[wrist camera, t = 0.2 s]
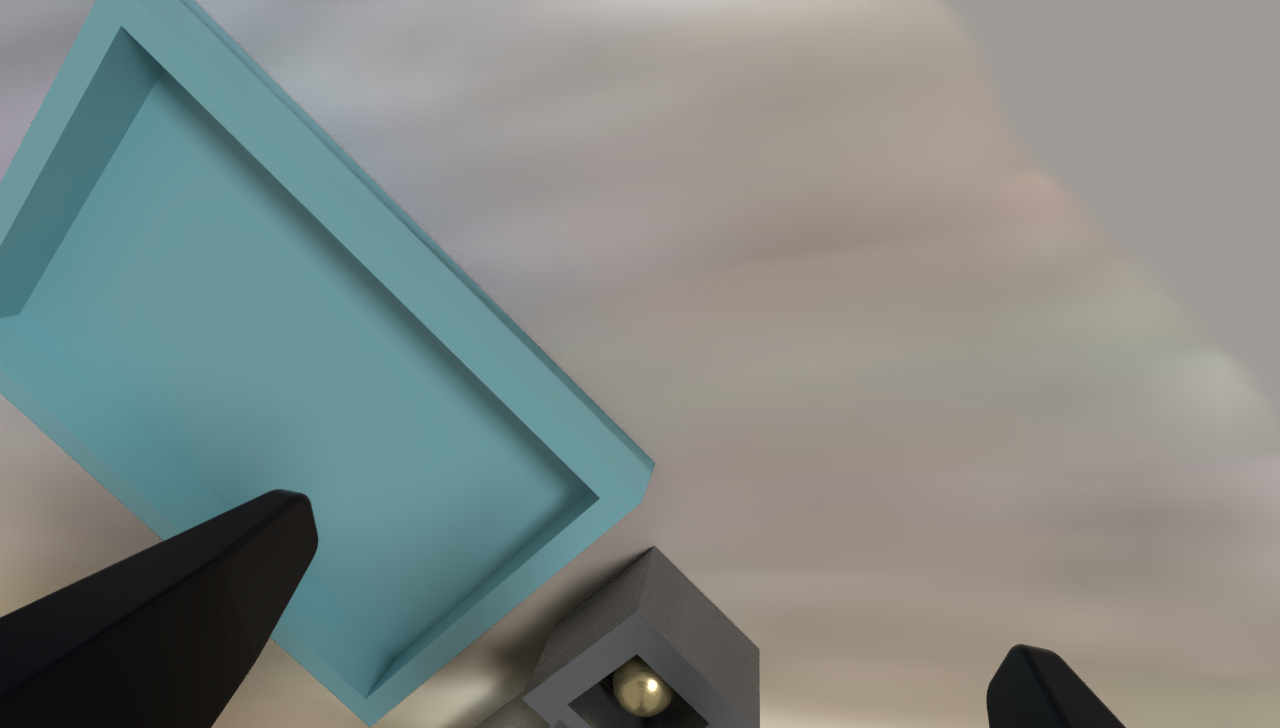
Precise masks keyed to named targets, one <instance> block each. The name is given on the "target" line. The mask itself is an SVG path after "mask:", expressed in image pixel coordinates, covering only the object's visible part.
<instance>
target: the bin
mask: <svg viewBox="0 0 1280 728" xmlns="http://www.w3.org/2000/svg"><path fill="white" fill-rule="evenodd" d="M0 393H1V394H2V395H3V396H4V397H5V398H7V399H8V400H9V401H10V402H11V403H12V404H13V405H14V406H15V407H16V408H18V409H19V410H20V411H21V412H22V413H23V414H24V415H25V416H26V417H28V418H29V419H30V420H31V421H32V422H33V423H34V424H35V425H36V426H37V427H39V428H40V429H41V430H42V431H43V432H44V433H45V434H46V435H47V436H49V437H50V438H51V439H52V440H53V441H54V442H55V443H56V444H57V445H58V446H60V447H61V448H62V449H63V450H64V451H65V452H66V453H67V454H68V455H70V456H71V457H72V458H73V459H74V460H75V461H76V462H77V463H78V464H79V465H81V466H82V467H83V468H84V469H85V470H86V471H87V472H88V473H89V474H91V475H92V476H93V477H94V478H95V479H96V480H97V481H98V482H99V483H100V484H102V485H103V486H104V487H105V488H106V489H107V490H108V491H109V492H110V493H111V494H113V495H114V496H115V497H116V498H117V499H118V500H119V501H120V502H121V503H123V504H124V505H125V506H126V507H127V508H128V509H129V510H130V511H131V512H132V513H134V514H135V515H136V516H137V517H138V518H139V519H140V520H141V521H142V522H144V523H145V524H146V525H147V526H148V527H149V528H150V529H151V530H152V531H153V532H155V533H156V534H157V535H158V536H159V537H160V538H161V539H162V540H163V541H164V540H166V539H169V538H171V537H173V536H175V535H177V534H179V533H181V532H183V531H186V530H188V529H190V528H192V527H194V526H196V525H198V524H201V523H203V522H205V521H207V520H209V519H211V518H213V517H215V516H218V515H220V514H222V513H224V512H226V511H228V510H230V509H232V508H235V507H237V506H239V505H241V504H243V503H245V502H247V501H250V500H252V499H254V498H256V497H258V496H260V495H262V494H264V493H267V492H269V491H271V490H275V489H285V490H290V491H294V492H299V493H303V494H305V495H307V497H308V498H309V499H310V501H311V505H312V509H313V514H314V519H315V523H316V528H317V532H318V538H319V539H318V547H317V551H316V554H315V556H314V558H313V560H312V562H311V563H310V565H309V567H308V569H307V571H306V572H305V574H304V576H303V578H302V580H301V581H300V583H299V585H298V587H297V589H296V591H295V592H294V594H293V596H292V598H291V600H290V601H289V603H288V605H287V607H286V609H285V610H284V612H283V614H282V616H281V618H280V619H279V621H278V623H277V625H276V627H275V629H274V630H273V632H272V634H271V636H270V637H271V638H272V639H273V640H274V641H275V642H276V643H277V644H278V645H279V646H281V647H282V648H283V649H284V650H285V651H286V652H287V653H288V654H289V655H290V656H292V657H293V658H294V659H295V660H296V661H297V662H298V663H299V664H300V665H302V666H303V667H304V668H305V669H306V670H307V671H308V672H309V673H310V674H311V675H313V676H314V677H315V678H316V679H317V680H318V681H319V682H320V683H321V684H323V685H324V686H325V687H326V688H327V689H328V690H329V691H330V692H331V693H332V694H334V695H335V696H336V697H337V698H338V699H339V700H340V701H341V702H342V703H344V704H345V705H346V706H347V707H348V708H349V709H350V710H351V711H352V712H353V713H355V714H356V715H357V716H358V717H359V718H360V719H361V720H362V721H363V722H365V723H366V724H367V725H368V726H369V727H371V726H372V725H373V724H374V723H376V722H377V721H378V720H379V719H380V718H382V717H383V716H384V715H385V714H386V713H388V712H389V711H390V710H391V709H393V708H394V707H395V706H396V705H397V704H399V703H400V702H401V701H402V700H403V699H405V698H406V697H407V696H408V695H409V694H411V693H412V692H413V691H414V690H415V689H417V688H418V687H419V686H420V685H421V684H423V683H424V682H425V681H426V680H427V679H429V678H430V677H431V676H432V675H433V674H435V673H436V672H437V671H438V670H440V669H441V668H442V667H443V666H444V665H446V664H447V663H448V662H449V661H450V660H452V659H453V658H454V657H455V656H456V655H458V654H459V653H460V652H461V651H462V650H464V649H465V648H466V647H467V646H468V645H470V644H471V643H472V642H473V641H474V640H476V639H477V638H478V637H479V636H481V635H482V634H483V633H484V632H485V631H487V630H488V629H489V628H490V627H491V626H493V625H494V624H495V623H496V622H497V621H499V620H500V619H501V618H502V617H503V616H505V615H506V614H507V613H508V612H509V611H511V610H512V609H513V608H514V607H515V606H517V605H518V604H519V603H520V602H522V601H523V600H524V599H525V598H526V597H528V596H529V595H530V594H531V593H532V592H534V591H535V590H536V589H537V588H538V587H540V586H541V585H542V584H543V583H544V582H546V581H547V580H548V579H549V578H550V577H552V576H553V575H554V574H555V573H556V572H558V571H559V570H560V569H561V568H562V567H564V566H565V565H566V564H567V563H569V562H570V561H571V560H572V559H573V558H575V557H576V556H577V555H578V554H579V553H581V552H582V551H583V550H584V549H585V548H587V547H588V546H589V545H590V544H591V543H593V542H594V541H595V540H596V539H597V538H599V537H600V536H601V535H602V534H603V533H605V532H606V531H607V530H608V529H610V528H611V527H612V526H613V525H614V524H616V523H617V522H618V521H619V520H620V519H622V518H623V517H624V516H625V515H626V514H628V513H629V512H630V511H631V510H632V509H634V508H635V507H636V506H637V505H638V504H640V503H641V502H642V500H643V497H644V494H645V491H646V488H647V485H648V482H649V480H650V477H651V474H652V471H653V468H654V465H655V463H654V462H653V461H652V460H651V459H650V458H649V457H648V456H647V455H646V454H645V453H644V452H643V451H642V450H641V449H640V448H639V447H638V446H637V445H636V444H635V443H634V442H633V441H632V440H631V439H630V438H629V437H628V436H627V435H626V434H625V433H624V432H623V431H622V430H621V429H620V428H619V427H618V426H617V425H616V424H615V423H614V422H613V421H612V420H611V419H610V418H609V417H608V416H607V415H606V414H605V413H604V412H603V411H602V410H601V409H600V408H599V407H598V406H597V405H596V404H595V403H594V402H593V401H592V400H591V399H590V398H589V397H588V396H587V395H586V394H585V393H584V392H583V390H582V389H581V388H580V387H579V386H578V385H577V384H576V383H575V382H574V381H573V380H572V379H571V378H570V377H569V376H568V375H567V374H566V373H565V372H564V371H563V370H562V369H561V368H560V367H559V366H558V365H557V364H556V363H555V362H554V361H553V360H552V359H551V358H550V357H549V356H548V355H547V354H546V353H545V352H544V351H543V350H542V349H541V348H540V347H539V346H538V345H537V344H536V343H535V342H534V341H533V340H532V339H531V338H530V337H529V336H528V335H527V334H526V333H525V332H524V331H523V330H522V329H521V328H520V327H519V326H518V325H517V324H516V323H515V322H514V321H513V320H512V319H511V318H510V317H509V316H508V315H507V314H506V313H505V312H504V311H503V310H502V309H501V308H500V307H499V306H498V305H497V304H496V303H495V302H494V301H493V300H492V299H491V298H490V297H489V296H488V295H487V294H486V293H485V292H484V291H483V290H482V289H481V288H480V287H479V286H478V285H477V284H476V283H475V282H474V281H473V280H472V279H471V278H470V277H469V276H468V275H467V274H466V273H465V272H464V271H463V270H462V269H461V268H460V267H459V266H458V265H457V264H456V263H455V262H454V261H453V260H452V259H451V258H450V257H449V256H448V255H447V254H446V253H445V252H444V251H443V250H442V249H441V248H440V247H439V246H438V245H437V244H436V243H435V242H434V241H433V240H432V239H431V238H430V237H429V236H428V235H427V234H426V233H425V232H424V231H423V230H422V229H421V228H420V227H419V226H418V225H417V224H416V223H415V222H414V221H413V220H412V219H411V218H410V217H409V216H408V215H407V214H406V213H405V212H404V211H403V210H402V209H401V208H400V207H399V206H398V205H397V204H396V203H395V202H394V201H393V200H392V199H391V198H390V197H389V196H388V195H387V194H386V193H385V192H384V191H383V190H382V189H381V188H380V187H379V186H378V185H377V184H376V183H375V182H374V181H373V180H372V179H371V178H370V177H369V176H368V175H367V174H366V173H365V172H364V171H363V170H362V169H361V168H360V167H359V166H358V165H357V164H356V163H355V162H354V161H353V160H352V159H351V158H350V157H349V156H348V155H347V154H346V153H345V152H344V151H343V150H342V149H341V148H340V147H339V146H338V145H337V144H336V143H335V142H334V141H333V140H332V139H331V138H330V137H329V136H328V135H327V134H326V133H325V132H324V131H323V130H322V129H321V128H320V127H319V126H318V125H317V124H316V123H315V122H314V120H313V119H312V118H311V117H310V116H309V115H308V114H307V113H306V112H305V111H304V110H303V109H302V108H301V107H300V106H299V105H298V104H297V103H296V102H295V101H294V100H293V99H292V98H291V97H290V96H289V95H288V94H287V93H286V92H285V91H284V90H283V89H282V88H281V87H280V86H279V85H278V84H277V83H276V82H275V81H274V80H273V79H272V78H271V77H270V76H269V75H268V74H267V73H266V72H265V71H264V70H263V69H262V68H261V67H260V66H259V65H258V64H257V63H256V62H255V61H254V60H253V59H252V58H251V57H250V56H249V55H248V54H247V53H246V52H245V51H244V50H243V49H242V48H241V47H240V46H239V45H238V44H237V43H236V42H235V41H234V40H233V39H232V38H231V37H230V36H229V35H228V34H227V33H226V32H225V31H224V30H223V29H222V28H221V27H220V26H219V25H218V24H217V23H216V22H215V21H214V20H213V19H212V18H211V17H210V16H209V15H208V14H207V13H206V12H205V11H204V10H203V9H202V8H201V7H200V6H199V5H198V4H197V3H196V2H195V1H194V0H96V2H95V4H94V6H93V8H92V10H91V12H90V13H89V15H88V17H87V19H86V21H85V23H84V25H83V27H82V29H81V31H80V33H79V34H78V36H77V38H76V40H75V42H74V44H73V46H72V48H71V50H70V52H69V53H68V55H67V57H66V59H65V61H64V63H63V65H62V67H61V69H60V71H59V73H58V74H57V76H56V78H55V80H54V82H53V84H52V86H51V88H50V90H49V92H48V94H47V95H46V97H45V99H44V101H43V103H42V105H41V107H40V109H39V111H38V113H37V114H36V116H35V118H34V120H33V122H32V124H31V126H30V128H29V130H28V132H27V134H26V135H25V137H24V139H23V141H22V143H21V145H20V147H19V149H18V151H17V153H16V154H15V156H14V158H13V160H12V162H11V164H10V166H9V168H8V170H7V172H6V174H5V175H4V177H3V179H2V181H1V183H0Z"/></svg>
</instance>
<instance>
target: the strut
mask: <svg viewBox="0 0 1280 728" xmlns="http://www.w3.org/2000/svg"><path fill="white" fill-rule="evenodd" d="M636 654H638V655H639V656H640V657H641V658H642V659H643V660H644V661H645V662H646V663H647V664H648V665H649V666H650V667H651V668H652V669H653V670H654V671H655V672H656V673H657V674H658V675H659V676H660V677H661V678H662V679H664V680H665V681H666V682H667V683H668V684H669V685H670V686H671V687H672V688H673V689H674V690H675V694H674V696H673V699H672V701H671V702H670V704H669V705H668V706H667V707H666V708H665V709H664V710H663V711H662V712H660V713H658V714H656V715H654V716H650V717H640V716H636V715H633V714H631V713H629V712H628V711H626V710H625V709H624V708H623V707H622V706H621V705H620V703H619V702H618V700H617V698H616V696H615V693H614V690H613V673H614V670H616V669H617V668H618V667H620V666H621V665H622V664H624V663H625V662H627V661H628V660H629V659H631V658H632V657H633V656H635V655H636ZM477 728H760V695H759V649H758V648H757V647H756V646H755V645H754V644H753V643H752V642H751V641H750V640H749V639H748V638H747V637H746V636H745V635H744V634H743V633H742V632H741V631H740V630H739V629H738V628H737V627H736V626H735V625H734V624H733V623H732V622H731V621H730V620H729V619H728V618H727V617H726V616H725V615H724V614H723V613H722V612H721V611H720V610H719V609H718V608H717V607H716V606H715V605H714V604H713V603H712V602H711V601H710V600H709V599H708V598H707V597H706V596H705V595H704V594H703V593H702V592H701V591H700V590H699V589H698V588H697V587H696V586H695V585H694V584H693V583H692V582H691V581H689V580H688V579H687V578H686V577H685V576H684V575H683V574H682V573H681V572H680V571H679V570H678V569H677V568H676V567H675V566H674V565H673V564H672V563H671V562H670V561H669V560H668V559H667V558H666V557H665V556H664V555H663V554H662V553H661V552H660V551H659V550H658V549H657V548H656V547H655V546H654V547H653V548H652V549H650V550H649V551H648V552H646V553H645V554H644V555H643V556H641V557H640V558H639V559H638V560H636V561H635V562H634V563H633V564H631V565H630V566H629V567H628V568H626V569H625V570H624V571H622V572H621V573H620V574H619V575H617V576H616V577H615V578H614V579H612V580H611V581H610V582H609V583H607V584H606V585H605V586H604V587H602V588H601V589H600V590H598V591H597V592H596V593H595V594H593V595H592V596H591V597H590V598H588V599H587V600H586V601H585V602H583V603H582V604H581V605H580V606H578V607H577V608H576V609H574V610H573V611H572V612H571V613H569V614H568V615H567V616H566V617H564V618H563V619H562V620H561V621H559V622H558V623H557V624H556V625H554V627H553V630H552V632H551V634H550V636H549V639H548V641H547V643H546V645H545V647H544V650H543V652H542V654H541V656H540V659H539V661H538V663H537V665H536V668H535V670H534V672H533V674H532V677H531V679H530V681H529V683H528V686H527V688H526V690H525V691H524V692H523V693H521V694H520V695H519V696H518V697H516V698H515V699H514V700H512V701H511V702H510V703H508V704H507V705H506V706H504V707H503V708H502V709H500V710H499V711H498V712H496V713H495V714H494V715H493V716H491V717H490V718H489V719H487V720H486V721H485V722H483V723H482V724H481V725H479V726H478V727H477Z"/></svg>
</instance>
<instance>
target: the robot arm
mask: <svg viewBox="0 0 1280 728" xmlns="http://www.w3.org/2000/svg"><path fill="white" fill-rule="evenodd" d="M318 539H319V538H318V532H317V528H316V523H315V519H314V514H313V509H312V505H311V501H310V499H309V498H308V497H307V495H305V494H303V493H299V492H294V491H290V490H285V489H275V490H271V491H269V492H267V493H264V494H262V495H260V496H258V497H256V498H254V499H252V500H250V501H247V502H245V503H243V504H241V505H239V506H237V507H235V508H232V509H230V510H228V511H226V512H224V513H222V514H220V515H218V516H215V517H213V518H211V519H209V520H207V521H205V522H203V523H201V524H198V525H196V526H194V527H192V528H190V529H188V530H186V531H183V532H181V533H179V534H177V535H175V536H173V537H171V538H169V539H166V540H164V541H162V542H160V543H158V544H156V545H154V546H152V547H149V548H147V549H145V550H143V551H141V552H139V553H137V554H134V555H132V556H130V557H128V558H126V559H124V560H122V561H120V562H117V563H115V564H113V565H111V566H109V567H107V568H105V569H103V570H100V571H98V572H96V573H94V574H92V575H90V576H88V577H86V578H83V579H81V580H79V581H77V582H75V583H73V584H71V585H68V586H66V587H64V588H62V589H60V590H58V591H56V592H54V593H51V594H49V595H47V596H45V597H43V598H41V599H39V600H37V601H34V602H32V603H30V604H28V605H26V606H24V607H22V608H19V609H17V610H15V611H13V612H11V613H9V614H7V615H5V616H2V617H0V728H211V727H212V725H213V724H214V722H215V721H216V719H217V718H218V717H219V715H220V714H221V712H222V711H223V709H224V708H225V706H226V705H227V703H228V702H229V700H230V699H231V698H232V696H233V695H234V693H235V692H236V690H237V689H238V687H239V686H240V684H241V683H242V681H243V680H244V679H245V677H246V675H247V674H248V672H249V671H250V669H251V668H252V666H253V665H254V663H255V662H256V660H257V658H258V657H259V655H260V653H261V652H262V650H263V648H264V646H265V645H266V643H267V641H268V639H269V638H270V636H271V634H272V632H273V630H274V629H275V627H276V625H277V623H278V621H279V619H280V618H281V616H282V614H283V612H284V610H285V609H286V607H287V605H288V603H289V601H290V600H291V598H292V596H293V594H294V592H295V591H296V589H297V587H298V585H299V583H300V581H301V580H302V578H303V576H304V574H305V572H306V571H307V569H308V567H309V565H310V563H311V562H312V560H313V558H314V556H315V554H316V551H317V547H318ZM987 711H988V719H989V727H990V728H1126V727H1125V726H1124V725H1123V724H1122V723H1121V722H1120V721H1119V720H1118V718H1117V717H1116V716H1115V715H1114V714H1113V713H1112V712H1111V711H1110V710H1109V709H1108V708H1107V707H1106V706H1105V704H1104V703H1103V702H1102V701H1101V700H1100V699H1099V698H1098V697H1097V696H1096V695H1095V694H1094V693H1093V692H1092V690H1091V689H1090V688H1089V687H1088V686H1087V685H1086V684H1085V683H1084V682H1083V681H1082V680H1081V679H1080V678H1079V676H1078V675H1077V674H1076V673H1075V672H1074V671H1073V670H1072V669H1071V668H1070V667H1069V666H1068V665H1067V663H1066V662H1065V661H1064V660H1063V659H1062V658H1061V657H1060V656H1059V655H1057V654H1056V653H1055V652H1053V651H1050V650H1047V649H1043V648H1038V647H1033V646H1028V645H1024V644H1017V645H1015V646H1014V647H1012V648H1011V649H1010V651H1009V652H1008V654H1007V655H1006V657H1005V659H1004V660H1003V662H1002V664H1001V665H1000V667H999V669H998V670H997V672H996V673H995V675H994V677H993V678H992V680H991V682H990V684H989V687H988V690H987Z"/></svg>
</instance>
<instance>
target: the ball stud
mask: <svg viewBox="0 0 1280 728" xmlns="http://www.w3.org/2000/svg"><path fill="white" fill-rule="evenodd" d="M613 690H614V693H615V696H616V698H617V700H618V702H619V703H620V705H621V706H622V707H623V708H624V709H625V710H626V711H628V712H629V713H631V714H633V715H636V716H640V717H650V716H654V715H656V714H658V713H660V712H662V711H663V710H664V709H665V708H666V707H667V706H668V705H669V704H670V702H671V701H672V699H673V696H674V694H675V690H674V689H673V688H672V687H671V686H670V685H669V684H668V683H667V682H666V681H665V680H664V679H662V678H661V677H660V676H659V675H658V674H657V673H656V672H655V671H654V670H653V669H652V668H651V667H650V666H649V665H648V664H647V663H646V662H645V661H644V660H643V659H642V658H641V657H640V656H639V655H638V654H636V655H635V656H633V657H632V658H631V659H629V660H628V661H627V662H625V663H624V664H622V665H621V666H620V667H618V668H617V669H616V670H614V673H613Z"/></svg>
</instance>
